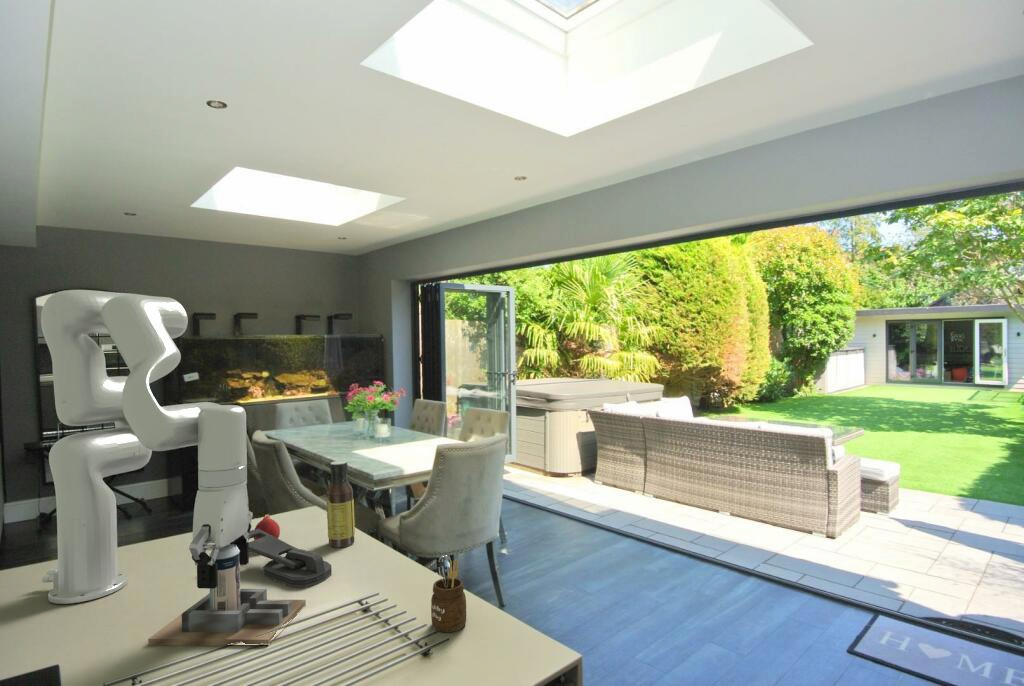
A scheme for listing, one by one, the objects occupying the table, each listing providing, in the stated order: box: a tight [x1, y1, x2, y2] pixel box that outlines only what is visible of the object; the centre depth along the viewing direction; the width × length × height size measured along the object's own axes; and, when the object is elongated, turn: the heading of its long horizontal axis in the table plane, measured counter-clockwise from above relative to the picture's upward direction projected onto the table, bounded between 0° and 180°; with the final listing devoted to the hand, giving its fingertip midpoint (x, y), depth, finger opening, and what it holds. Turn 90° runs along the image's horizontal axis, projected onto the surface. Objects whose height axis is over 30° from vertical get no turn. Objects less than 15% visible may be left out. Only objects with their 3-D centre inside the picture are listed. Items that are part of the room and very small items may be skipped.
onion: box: [253, 514, 281, 541], centre depth 134 cm, size 6×6×8 cm
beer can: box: [208, 544, 241, 611], centre depth 97 cm, size 5×5×12 cm
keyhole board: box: [147, 588, 307, 647], centre depth 97 cm, size 20×14×4 cm
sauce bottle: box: [326, 460, 356, 548], centre depth 136 cm, size 6×6×20 cm
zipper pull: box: [233, 529, 332, 589], centre depth 120 cm, size 9×7×25 cm
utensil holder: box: [430, 555, 467, 633], centre depth 95 cm, size 6×6×12 cm
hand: (224, 575), depth 97 cm, fingers open, 9 cm apart
